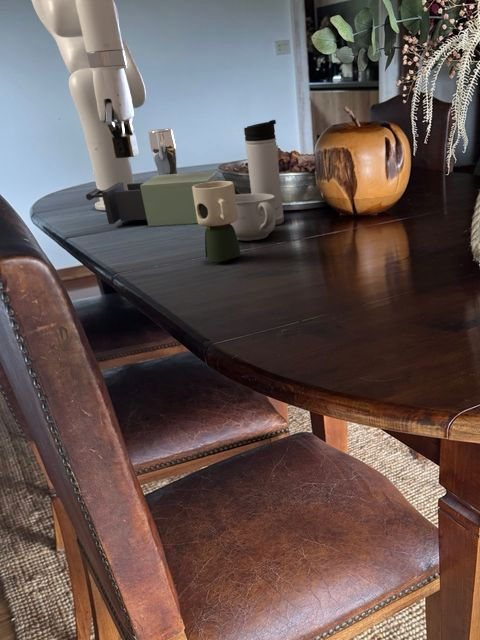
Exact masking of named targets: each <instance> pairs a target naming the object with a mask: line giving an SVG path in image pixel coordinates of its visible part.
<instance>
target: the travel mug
mask: <svg viewBox="0 0 480 640" xmlns="http://www.w3.org/2000/svg"><path fill="white" fill-rule="evenodd" d="M275 125H277V120H276V119H271V120H269V121H266V122H261V123H257V124H256V123H255V124H252V125H251V124H250V125H248V126H246V127H243V132H244V134H243V135H244V136H245V137H244V143H245V150H246V160H247V166H248V167H247V168H248V176H249V184H250V194H253V193H258V194H272V195H274V196H275V226H278V225H282V224H283V223H284V221H285V217H284V209H283V208H284V207H283V198H282V197H283V195H282V187H281V177H280V166H279V157H278V147H277V146H278V145H277V138H276V134H275V133H276V130H275Z"/></svg>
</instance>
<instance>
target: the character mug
mask: <svg viewBox="0 0 480 640" xmlns="http://www.w3.org/2000/svg"><path fill="white" fill-rule="evenodd" d="M192 190H193V197H194V202H195V208H196V215H197V221H198V223H197V224H198V225H199V226H203V227H205V231H204V252H205V259H207V262H211V263H220V262H221V263H222V262H225V263H228V262H229V260H232V259H235V258H238V257H241V255H242V253H241V247H240V243H239V240H237V236H236V233H235V229H234V228H233V226H232V225H231V223H233V222H235V221H237V220H238V213H237V205H236V197H235V195H236V190H235V185H234V182H233V181H231V180H219V181H212V182H206V183H200V184H197V185H194V186H192Z"/></svg>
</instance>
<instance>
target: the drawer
mask: <svg viewBox="0 0 480 640" xmlns="http://www.w3.org/2000/svg"><path fill="white" fill-rule="evenodd" d="M143 183H144V182H134V183H132V184H127V187H128V191H125V190H124V186H123V182H122V183H117V184H115V185H113V186H112V187H110V188H108V189H106V190H99V189H97V188H95V189H93V190H91V191H90V192H88V193H86V195H85V198H86V200H88V201H91V200H93V199H96V198H99V197H103V201H104V205H105V210H104V211H105V214H106V218H107V223H108V225H114V224H116V223H117V222H119V221H120V222H127V221H140V220H147V217H146V212H145V207H144V202H143V197H142V192H141V188H140V185H142V184H143ZM101 193H102V194H101Z"/></svg>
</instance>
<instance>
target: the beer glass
mask: <svg viewBox="0 0 480 640" xmlns="http://www.w3.org/2000/svg"><path fill="white" fill-rule="evenodd" d="M148 138H149V145H150V151H151V155H152V158H153V161H154V163H155V166H156V169H157V172H158V175H168V174H178V170H177V168H178V167H177V147H176V142H175V137H174V133H173V129H172V128H161V129H160V128H159V129H153V130H149V131H148Z"/></svg>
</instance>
